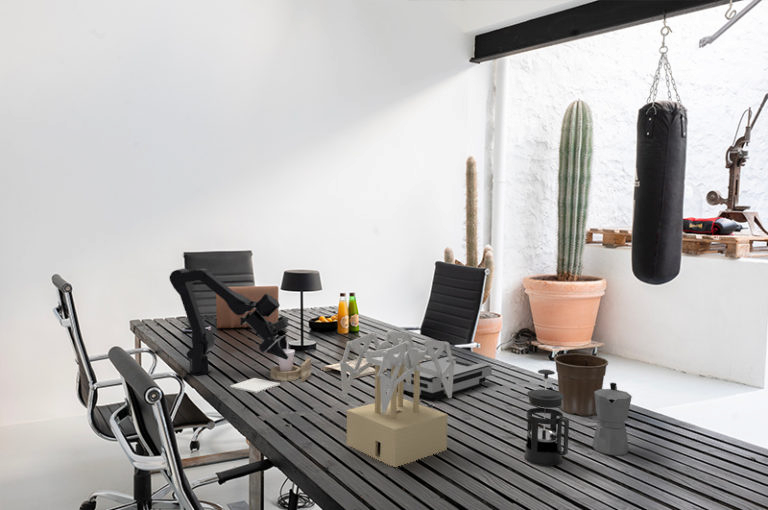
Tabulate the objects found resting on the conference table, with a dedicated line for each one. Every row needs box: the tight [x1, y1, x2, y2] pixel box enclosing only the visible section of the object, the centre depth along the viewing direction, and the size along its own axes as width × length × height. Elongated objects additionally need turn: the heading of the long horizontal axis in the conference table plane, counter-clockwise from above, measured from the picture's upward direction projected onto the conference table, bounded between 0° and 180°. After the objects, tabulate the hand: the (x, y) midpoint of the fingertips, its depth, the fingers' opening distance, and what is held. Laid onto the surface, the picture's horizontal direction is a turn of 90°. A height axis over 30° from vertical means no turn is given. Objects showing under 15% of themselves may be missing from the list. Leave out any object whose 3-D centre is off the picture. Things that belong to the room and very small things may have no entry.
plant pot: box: [553, 353, 609, 416], centre depth 208 cm, size 16×16×16 cm
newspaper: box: [320, 357, 423, 380], centre depth 259 cm, size 37×19×3 cm, turn 133°
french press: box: [524, 369, 570, 467], centre depth 168 cm, size 12×9×23 cm
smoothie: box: [278, 338, 296, 372], centre depth 242 cm, size 6×6×14 cm
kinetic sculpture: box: [339, 330, 456, 468], centre depth 175 cm, size 25×20×30 cm
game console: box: [386, 354, 493, 402], centre depth 232 cm, size 21×32×8 cm, turn 135°
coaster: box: [229, 377, 281, 394], centre depth 230 cm, size 12×12×1 cm
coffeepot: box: [591, 382, 633, 456], centre depth 177 cm, size 15×9×18 cm, turn 159°
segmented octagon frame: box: [270, 357, 312, 382], centre depth 242 cm, size 13×10×6 cm
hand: (289, 356), depth 241 cm, fingers closed on smoothie, 6 cm apart
